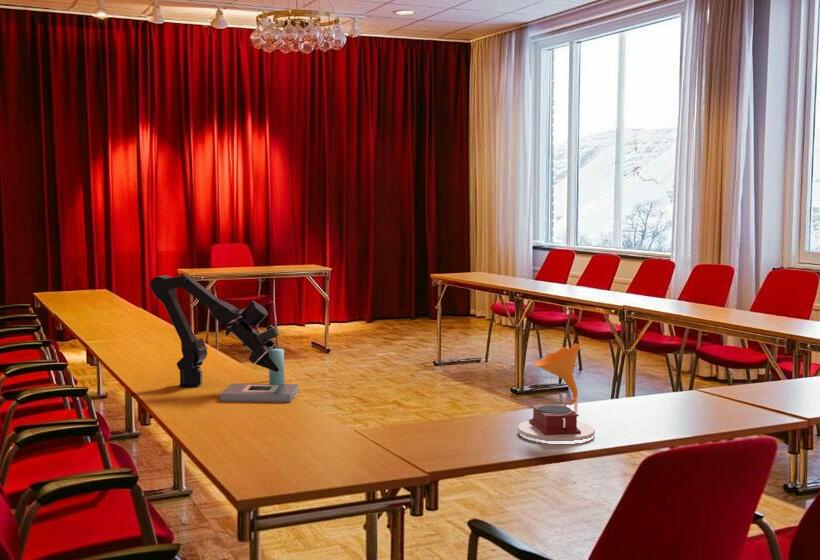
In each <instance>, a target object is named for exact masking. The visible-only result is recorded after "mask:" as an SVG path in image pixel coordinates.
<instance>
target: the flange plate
mask: <svg viewBox="0 0 820 560" xmlns="http://www.w3.org/2000/svg"><path fill="white" fill-rule="evenodd" d="M297 394H299V384H298V383H284V384H269V383H237V382H236V383H231V384H230V385H228V386H227V387H226V388H225V389H224V390H223V391H222V392H220V393H219V402H220V403H223V402H227V403H231V402H232V403H291V402H292V400H293V399H294V398H295V397H296V395H297Z"/></svg>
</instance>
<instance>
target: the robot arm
mask: <svg viewBox="0 0 820 560" xmlns="http://www.w3.org/2000/svg"><path fill="white" fill-rule="evenodd" d="M149 287H150V290H151V291H152V293H153V295H154V296H155V298H157V300H158V301H160V302H161V303H162V305H163V306H164V308H165V310H166V312H167V314H168V316H169V318H170V320H171V323H172V325H173V327H174V329H175V331H176V334H177V335H178V338H179V340H180V343H181V344H180V345H181V346H180V347H181V349H180V350H181V355H182V357H181V358H180V359H179V360H178V361H177V362H176V366H177V369H178V370H179V385H178V388H179V387H180V388H194V387H195V388H198V387H200V386H201V385H202V384H203V371H202V370H201V366H203V362H204V361H205V360H206V359H207V356H208V346H206V344H205V341H204V338H202V337H201V338H197V336H196V335H195V334H194V332H193V330H192V328H191V326H190V323H189V322H188V320H187V318H186V315H185V313H184V311H183V309H182V306H181V304H180V302H179V300H178V297H177V288H179V289H180V288H183V289H184V290H185V292H187V293H189V294H190V295H191V296H192V297H194V298H195V299H196V300H198V301H199V302H200V303H201V304H203V305H204V306H205V307H207V309H208V310H209V311H210V313H211V314H212V316H213V317H214V319H215V320H216V321H218V323H220V324H221V325H227V324H228V325H227V326H225V336H226V337H227V336H229V335H230V334H233V335H234V336H235V337H236V338H237V339H238V340H239V341H240V342H241V343H242V344H241V345H242V346H243V347H244V348H245V347H246V348H247V350H249V351H250V352H251V353H250V355H249V356H248V361H249V362H250V363H251V364H254V365H256V366H260V367H263V368H265V369H267V370H269V369H270V370H273V371H275V372H278V371H279V369H278V367H277V366H276V364H275V363H274V362H273V360H272V359H271V358H270V353H269V350H270V349H277V343H276V341H275V340H274V339H275V338H277V337H278V336H280V333H279V331H278V328H277V327H276V326H273V325H272V324H269V325H268V326H266V328H265V330H264V331H263V332H260V331H259V330H255V329H254V328H253V327H257V326H258V325H259V324H260V323H261V322H262V321H264V319H265V318H266V317H267V316H268V315H269V312H268V311H267V309H266V308H265V306H263V305H261V304H259V303H258V302H256V301H255V300H252V301H251V302H249V304H248V305H247V306H246V308H244V309H240V308H239V309H238V308H237V307H236V306H234V305H233V304H230V303H229V302H227V301H225V300H222V299H219V298H218V297H217V296H216V295H215V294H213V293H211V291H209V290H208V289H207V288H206V287H204V286H203V285H201V284H200V283H199V282H198V281H197V280H196V279H194V278H193V277H192V275H190V274H184V275H179V276H174V277H173V276H170V275H166V274H165V275H158V276H155V277H153V278H152V279H151V280H150V283H149ZM240 318H241V319H240ZM238 319H240V320H239V321H237V320H238ZM231 323H232V324H231ZM229 324H231V325H230V326H229Z"/></svg>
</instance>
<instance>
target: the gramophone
mask: <svg viewBox="0 0 820 560" xmlns="http://www.w3.org/2000/svg"><path fill="white" fill-rule="evenodd" d="M582 346H583V342H581V343H577V342H575V343H574V344H573V345H572V346H571V347H570V348H568V347H564V346H561V347H560V348H559V349H558V350H557V351H556V352H552V353H551V352H550V353H546V355H545V356H544V357H543V359H538V360H537V359H536V360H535V363H534V364H532V366H533V367H539V368H540V369H542V370H544V371H546V372H548V373H550V374H553V375H555V376H557V377H558V378H561V379H562V380H563V382H564V383H565V384H566V385H567V386H568V387H569V388H568V389H570V390H571V393H572V397H571V402H569V403H567V401H564V404H563V403H561V404H533V405H531V407H532V409H533V412H532V418H531V419H529V420H526V421H522V422H521V423H519V424H518V426H517V432H518V431H519V433H521V434H523V435H525V436H527V437H530V438H534V439H539V440H545V441H574V440H583V439H588V438H591V437H592V436H594V434H596V433H595V432H596V431H595V430H596V429H595V428H594V426H592V425H590V424H588V423H585V422H582V421H578V420H577V419H578V417H579V416H580V414H578V413H577V412H578V401H579V399H578V394H579V392H578V388H577V383H576V382H575V379H574V375H573V373H574V367H575V364H576V361H577V357H578V354H579V353H578V352H579V351H580V349H581V347H582ZM567 405H568V406H572V405H573V408H574V410H572V409H571V408H570V407H568V406H567Z"/></svg>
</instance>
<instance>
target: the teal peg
mask: <svg viewBox="0 0 820 560" xmlns="http://www.w3.org/2000/svg"><path fill="white" fill-rule="evenodd" d="M269 353H270V358H271V359H272V360H273V362H274V363H275V364H276V366H277V367H278V369H279V371H278V372H275V371H273V370H270V369H268V377H269V378H268V379H269V381H268V384H285V350H284V348H276V349H270V350H269Z"/></svg>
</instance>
